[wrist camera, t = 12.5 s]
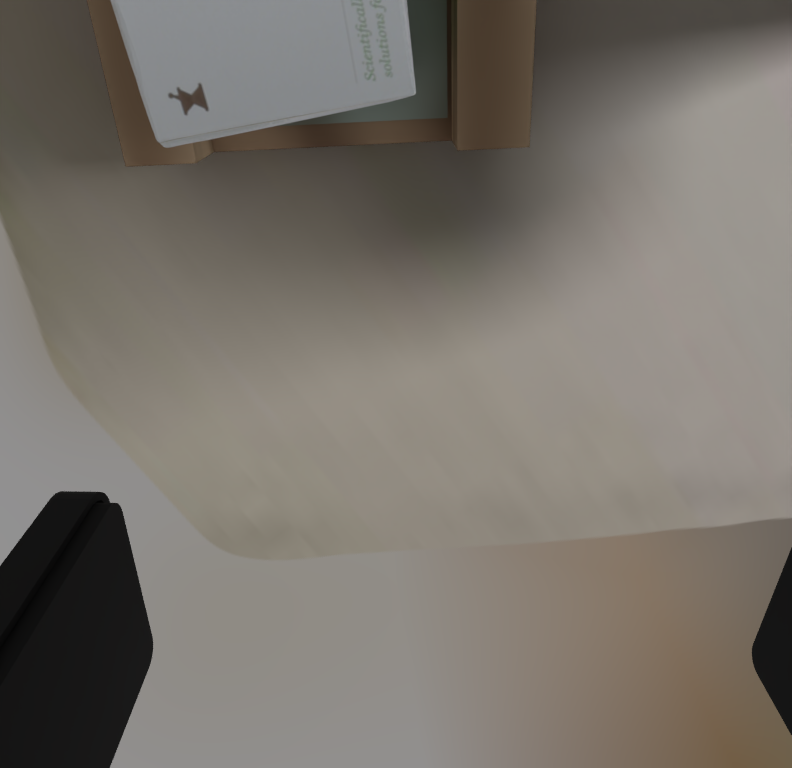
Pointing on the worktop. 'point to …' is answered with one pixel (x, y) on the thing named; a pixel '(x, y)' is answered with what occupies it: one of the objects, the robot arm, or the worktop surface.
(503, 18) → the wooden u-shaped tray
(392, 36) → the skincare box
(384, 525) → the worktop surface
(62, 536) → the robot arm
